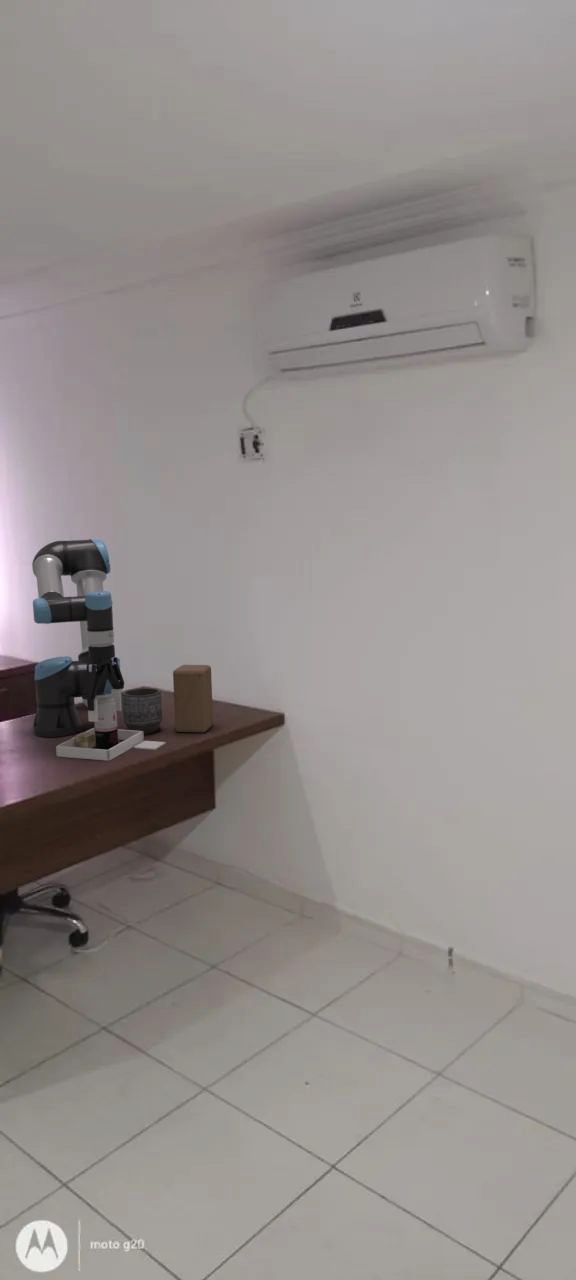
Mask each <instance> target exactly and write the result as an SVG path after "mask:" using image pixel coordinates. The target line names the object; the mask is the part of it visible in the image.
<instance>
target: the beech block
mask: <svg viewBox="0 0 576 1280" xmlns="http://www.w3.org/2000/svg"><path fill="white" fill-rule="evenodd" d="M75 737H76V747H78V748H91V749H93V748H94V747H96V740H95V735H94V733H84V732H80V733H78V734H76V735H75Z"/></svg>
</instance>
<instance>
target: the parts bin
mask: <svg viewBox="0 0 576 1280" xmlns="http://www.w3.org/2000/svg"><path fill="white" fill-rule="evenodd" d="M117 729H118V728H117ZM84 733H94V735H95V727H92V728H90V729H88V730H86V731H85V732H84ZM118 740H119V741H120V740H121V742H118V744H117V745H116V746H114V747H112V748H110V749H108V750H103V749H96V748H78V747H76V736H73V737H72V738H70V739H68V740H66V741H63V742H62V743H60V744H58V745H56V746H55V752H56V754H55V756H56V757H59V758H70V759H71V758H72V759H84V760H96V761H111V760H113V759H115V758H117V757H118V756H120V755H122V754H123V753H125V752H128V751H129V750H131V749H132V748H134V747H135V746H136V745H138V744H140V743H142V742H143V741H145V734H144V731H134V730H129V729H120V728H119V729H118ZM122 740H123V741H122Z"/></svg>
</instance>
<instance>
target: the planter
mask: <svg viewBox="0 0 576 1280" xmlns="http://www.w3.org/2000/svg"><path fill="white" fill-rule="evenodd" d="M121 695H122V696H121V701H122V717H123V718H122V719H123V720H122V721H123V723H124V725H125V726H126V728H127V730H134V731H144V735H147V734H152V733H155V732H156V731H157V730H158V729H159V727H160V725H161V724H162V720H163V710H162V708H163V707H162V706H163V705H162V690H161V689H160V688H156V687H134V688H130V689H126V690H124V691H123V690H122V692H121Z"/></svg>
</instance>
